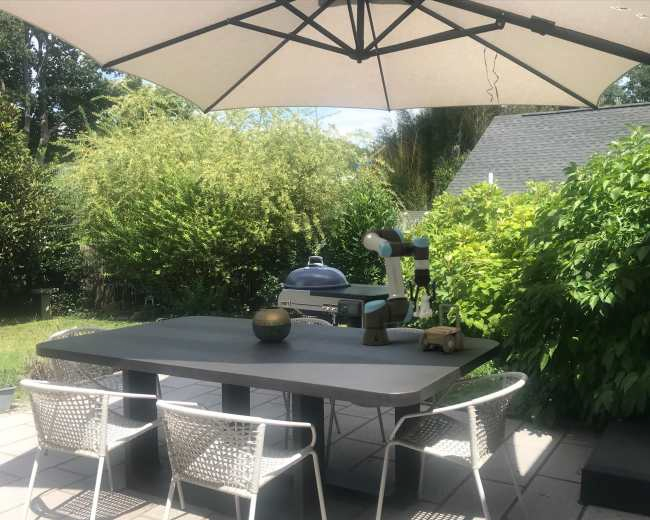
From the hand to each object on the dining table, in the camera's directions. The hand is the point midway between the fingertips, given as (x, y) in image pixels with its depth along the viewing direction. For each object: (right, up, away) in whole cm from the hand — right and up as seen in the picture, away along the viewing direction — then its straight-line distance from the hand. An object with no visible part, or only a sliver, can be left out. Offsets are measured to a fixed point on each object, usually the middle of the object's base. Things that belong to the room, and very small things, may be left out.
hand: (423, 315), depth 315 cm
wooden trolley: (+11, -19, +11) cm, 24 cm away
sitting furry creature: (0, -1, 0) cm, 1 cm away
